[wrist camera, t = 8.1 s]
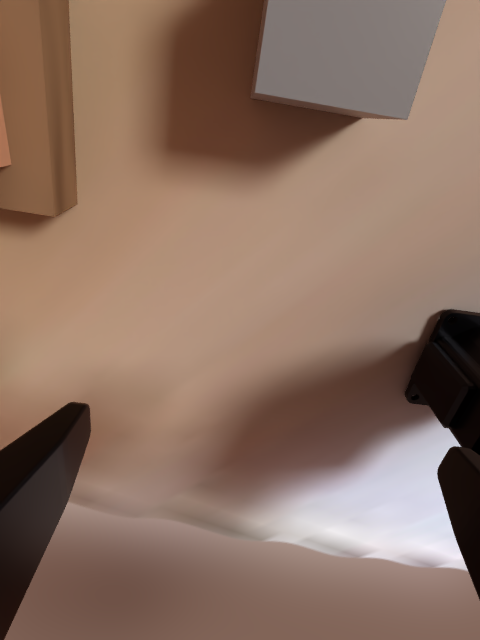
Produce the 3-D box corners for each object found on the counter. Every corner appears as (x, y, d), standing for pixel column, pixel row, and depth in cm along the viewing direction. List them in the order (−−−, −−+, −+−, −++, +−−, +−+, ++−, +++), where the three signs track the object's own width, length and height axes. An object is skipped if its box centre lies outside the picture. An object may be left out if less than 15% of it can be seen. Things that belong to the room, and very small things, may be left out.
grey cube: (402, -32, 14) (477, -97, 10) (362, 118, 16) (407, 119, 12) (272, -59, 14) (288, -140, 9) (250, 98, 16) (255, 92, 12)
